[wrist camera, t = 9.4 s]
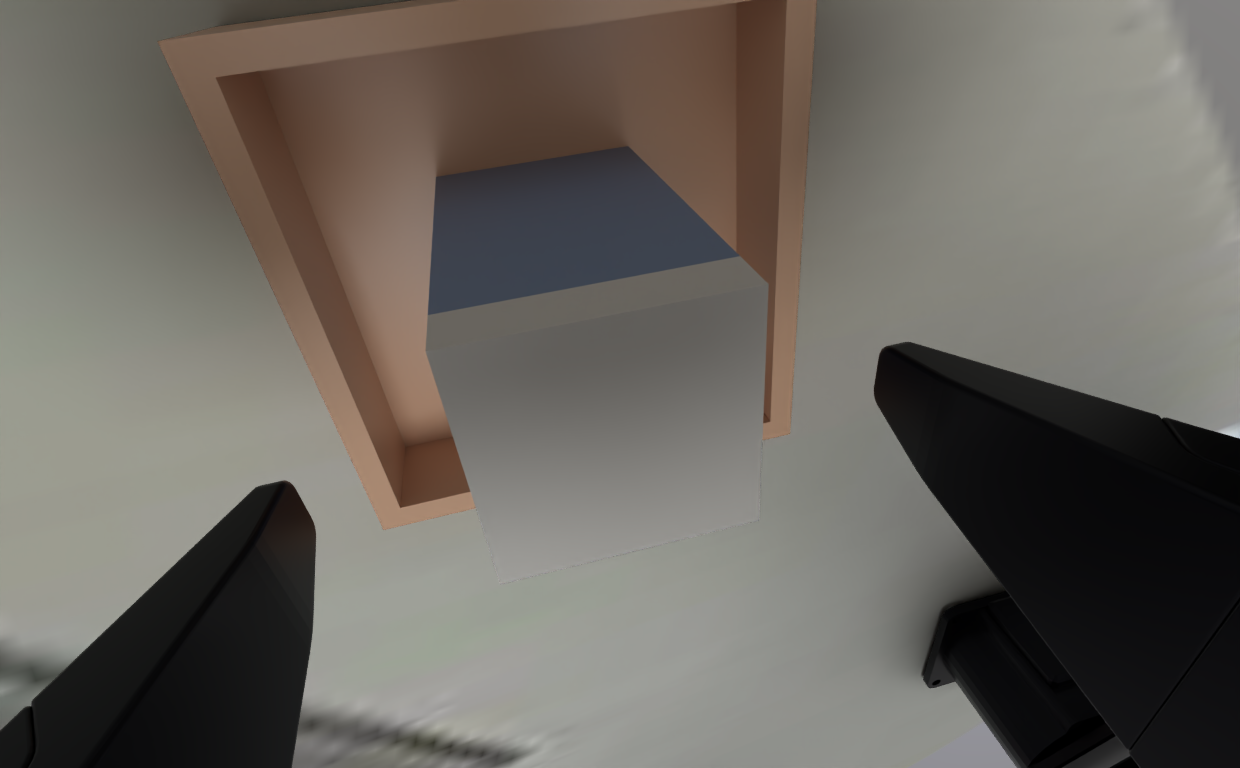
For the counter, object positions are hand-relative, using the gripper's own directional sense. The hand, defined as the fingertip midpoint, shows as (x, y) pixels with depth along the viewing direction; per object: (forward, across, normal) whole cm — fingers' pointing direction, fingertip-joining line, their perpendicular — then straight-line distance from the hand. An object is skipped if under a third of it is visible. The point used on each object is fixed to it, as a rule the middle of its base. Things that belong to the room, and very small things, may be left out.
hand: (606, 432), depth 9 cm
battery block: (+8, 0, 0) cm, 8 cm away
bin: (+8, 0, 0) cm, 8 cm away
